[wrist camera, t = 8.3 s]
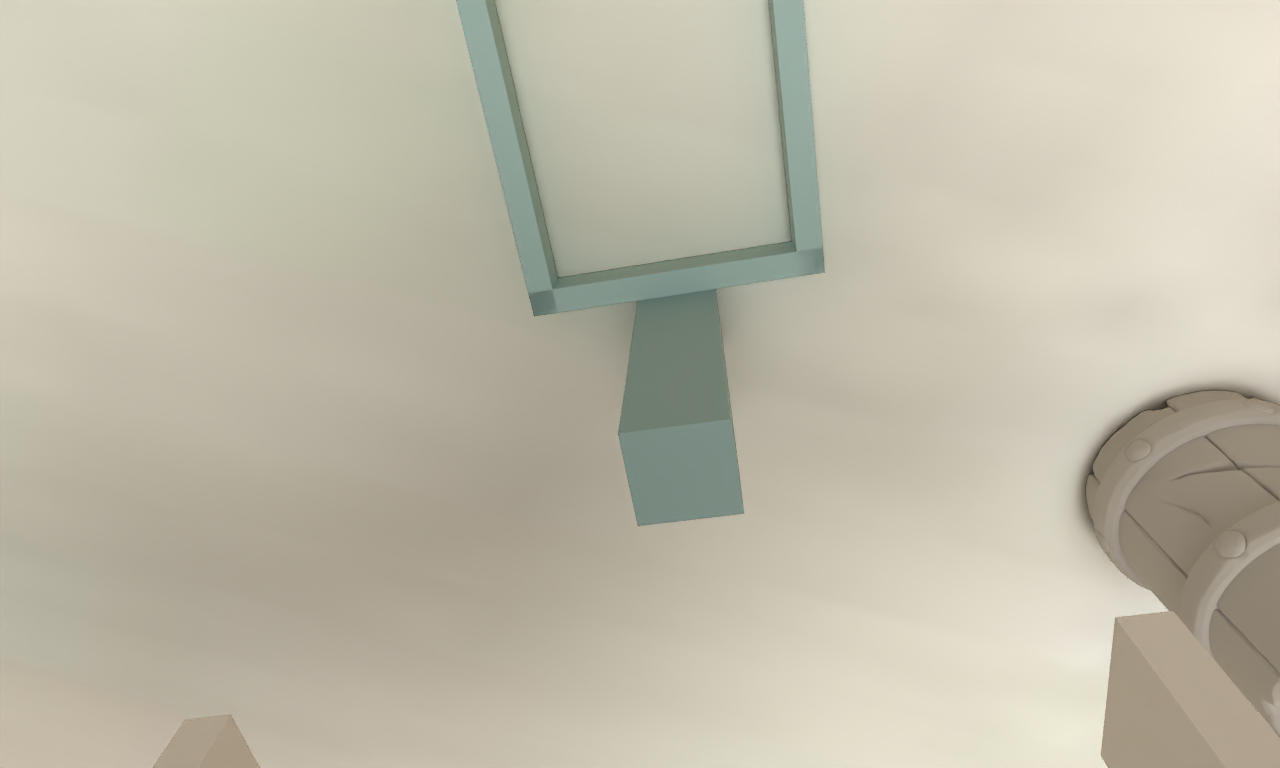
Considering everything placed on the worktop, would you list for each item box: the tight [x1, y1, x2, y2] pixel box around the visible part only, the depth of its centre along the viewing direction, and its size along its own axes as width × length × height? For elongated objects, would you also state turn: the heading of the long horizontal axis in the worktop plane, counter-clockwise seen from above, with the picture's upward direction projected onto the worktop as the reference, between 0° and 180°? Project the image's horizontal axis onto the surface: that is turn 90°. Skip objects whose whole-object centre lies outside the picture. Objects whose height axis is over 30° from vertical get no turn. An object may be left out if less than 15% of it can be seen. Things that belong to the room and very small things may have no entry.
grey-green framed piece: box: [456, 0, 825, 526], centre depth 18 cm, size 9×22×10 cm, turn 10°
